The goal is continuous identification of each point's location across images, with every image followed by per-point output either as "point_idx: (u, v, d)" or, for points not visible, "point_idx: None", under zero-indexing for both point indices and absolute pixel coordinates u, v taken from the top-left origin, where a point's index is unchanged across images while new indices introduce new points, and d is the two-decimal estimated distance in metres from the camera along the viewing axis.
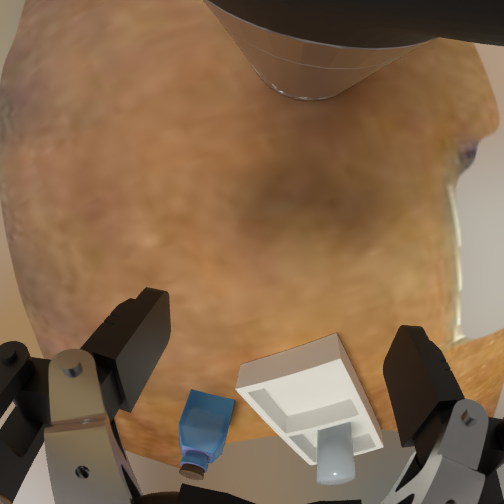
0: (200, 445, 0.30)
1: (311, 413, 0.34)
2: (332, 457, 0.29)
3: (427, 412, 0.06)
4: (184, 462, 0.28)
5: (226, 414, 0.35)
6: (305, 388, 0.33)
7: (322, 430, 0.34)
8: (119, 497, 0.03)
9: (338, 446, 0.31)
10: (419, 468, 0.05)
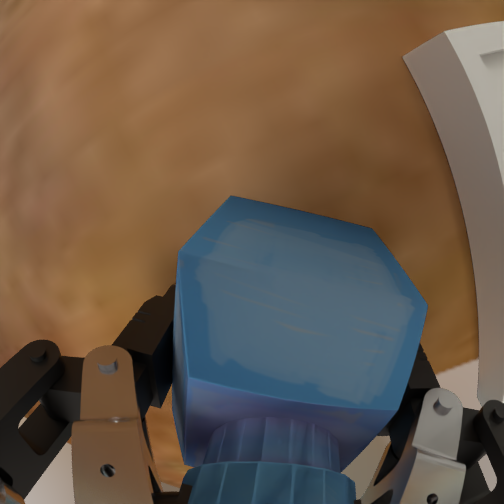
0: (315, 370, 0.05)
1: None
2: None
3: None
4: None
5: (375, 249, 0.09)
6: None
7: None
8: (143, 499, 0.03)
9: None
10: (395, 459, 0.06)
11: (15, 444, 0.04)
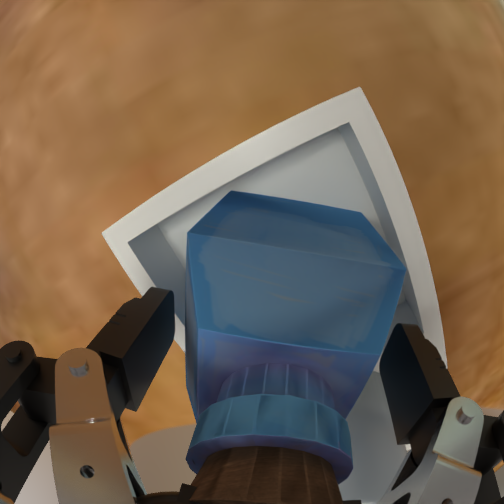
0: (304, 320, 0.06)
1: None
2: (357, 462, 0.11)
3: (422, 409, 0.06)
4: (215, 442, 0.04)
5: (361, 227, 0.11)
6: None
7: None
8: (124, 497, 0.03)
9: (370, 431, 0.12)
10: (415, 466, 0.05)
11: None
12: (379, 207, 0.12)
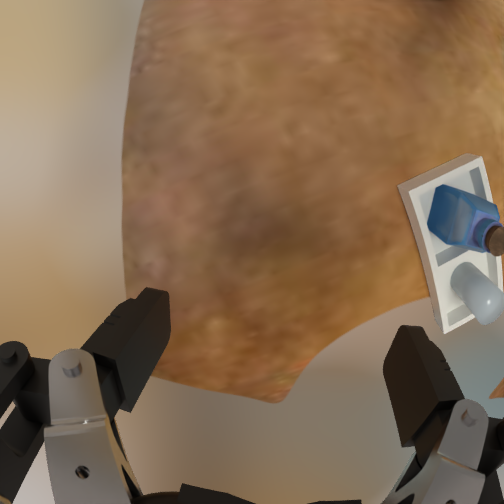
0: (487, 210, 0.24)
1: (451, 248, 0.34)
2: (481, 284, 0.29)
3: (427, 412, 0.06)
4: (489, 225, 0.22)
5: (478, 197, 0.28)
6: None
7: (458, 274, 0.34)
8: (119, 497, 0.03)
9: (480, 276, 0.30)
10: (419, 468, 0.05)
11: None
12: (479, 191, 0.29)
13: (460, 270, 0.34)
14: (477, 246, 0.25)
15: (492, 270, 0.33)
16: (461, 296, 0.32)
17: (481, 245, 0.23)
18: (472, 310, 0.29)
